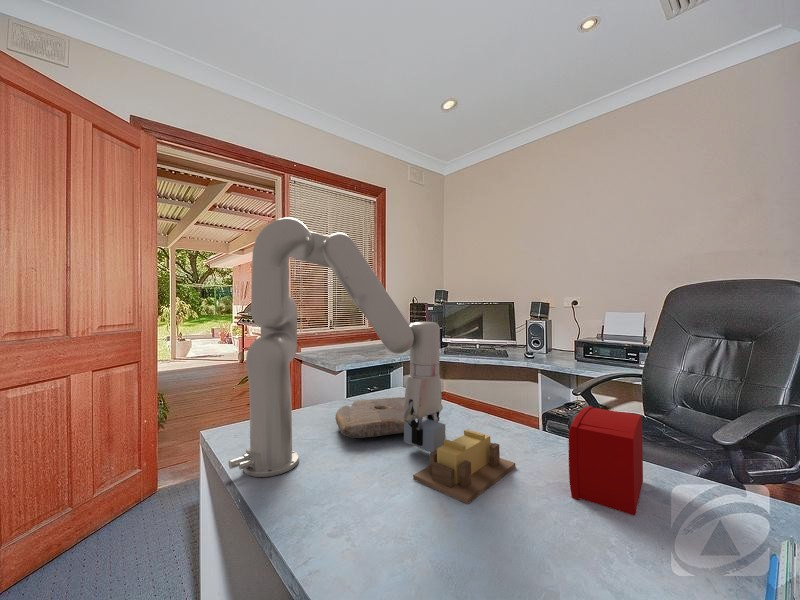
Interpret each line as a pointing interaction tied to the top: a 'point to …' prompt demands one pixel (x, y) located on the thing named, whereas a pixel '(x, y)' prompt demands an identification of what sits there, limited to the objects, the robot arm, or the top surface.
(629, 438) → the fire alarm
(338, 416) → the stone slab
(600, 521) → the top surface
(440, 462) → the tan toy brick
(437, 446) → the grey rectangular block
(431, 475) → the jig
